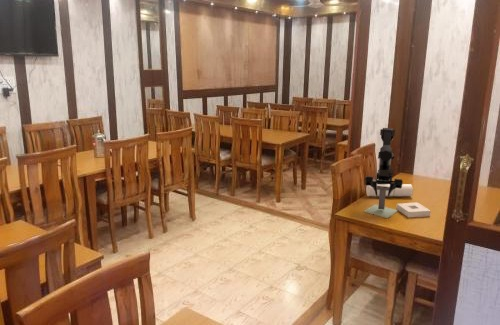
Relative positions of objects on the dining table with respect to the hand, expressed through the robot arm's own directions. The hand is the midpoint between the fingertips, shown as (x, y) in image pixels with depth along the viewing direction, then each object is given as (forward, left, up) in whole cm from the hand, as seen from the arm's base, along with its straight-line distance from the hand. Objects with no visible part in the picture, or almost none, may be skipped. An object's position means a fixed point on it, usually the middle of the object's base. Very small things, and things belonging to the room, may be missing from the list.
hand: (382, 196), depth 203 cm
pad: (-1, +1, -9) cm, 9 cm away
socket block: (+12, +11, -9) cm, 19 cm away
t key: (-1, +1, -7) cm, 7 cm away
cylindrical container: (+2, +36, -5) cm, 36 cm away
